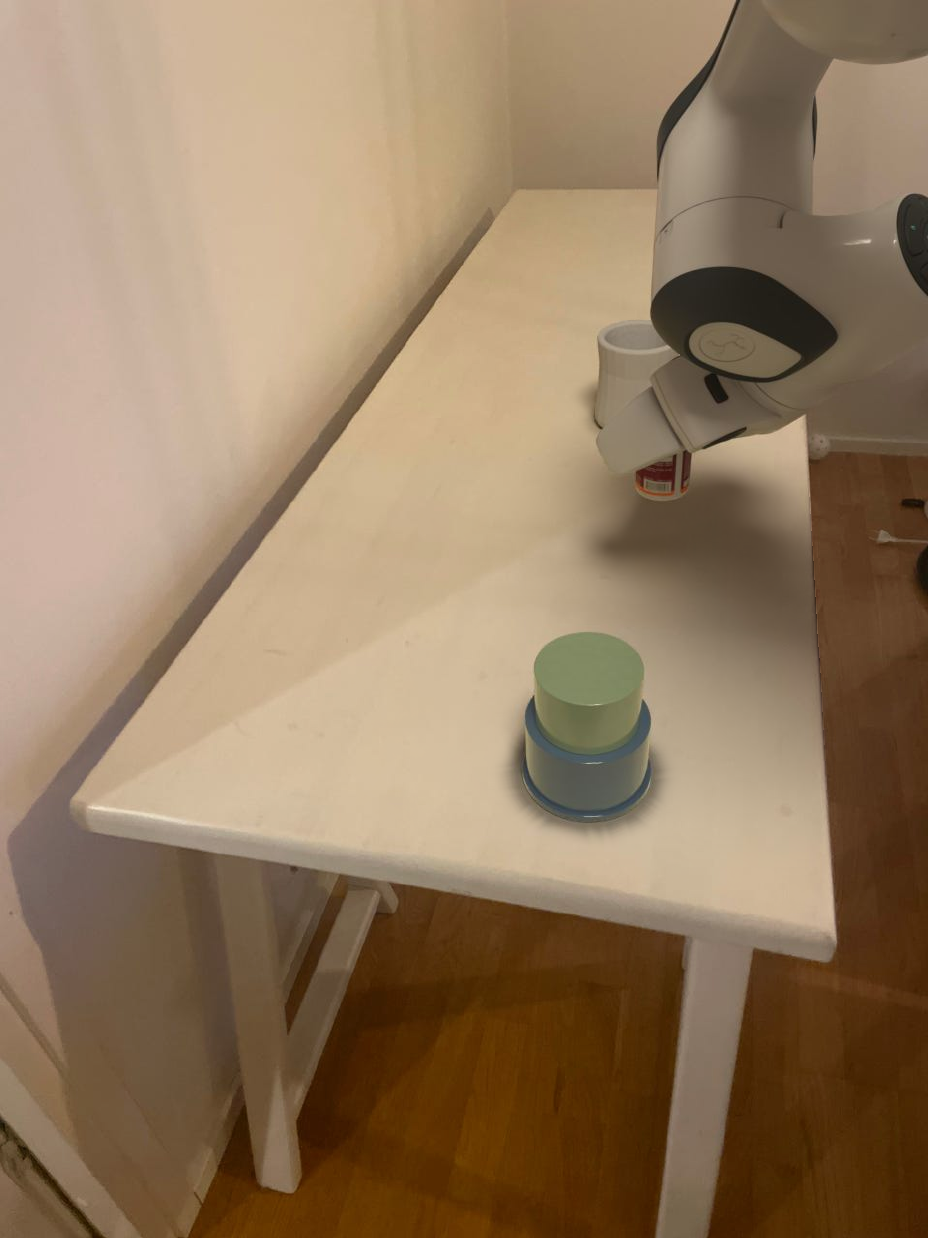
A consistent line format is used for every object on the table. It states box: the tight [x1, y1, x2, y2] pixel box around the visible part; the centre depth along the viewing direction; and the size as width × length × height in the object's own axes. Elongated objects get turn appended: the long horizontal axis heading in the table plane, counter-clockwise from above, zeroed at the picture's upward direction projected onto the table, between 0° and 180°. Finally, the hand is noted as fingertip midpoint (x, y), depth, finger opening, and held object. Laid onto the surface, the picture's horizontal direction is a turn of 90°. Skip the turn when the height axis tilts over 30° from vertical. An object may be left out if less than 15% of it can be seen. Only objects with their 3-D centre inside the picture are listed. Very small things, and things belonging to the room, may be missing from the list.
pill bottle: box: [634, 450, 693, 502], centre depth 81 cm, size 5×5×8 cm
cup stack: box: [521, 631, 652, 823], centre depth 63 cm, size 9×9×10 cm
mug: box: [594, 319, 679, 429], centre depth 104 cm, size 12×9×10 cm
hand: (658, 442), depth 81 cm, fingers closed on pill bottle, 5 cm apart
